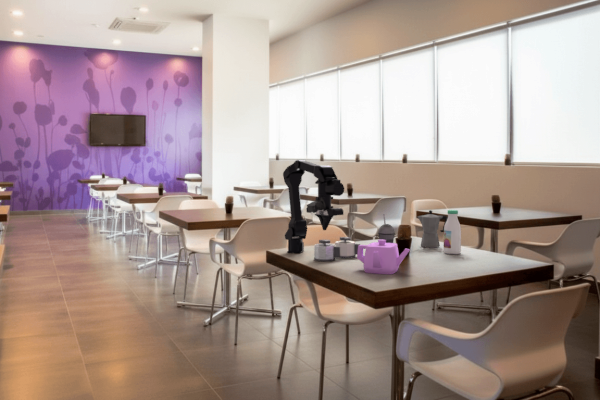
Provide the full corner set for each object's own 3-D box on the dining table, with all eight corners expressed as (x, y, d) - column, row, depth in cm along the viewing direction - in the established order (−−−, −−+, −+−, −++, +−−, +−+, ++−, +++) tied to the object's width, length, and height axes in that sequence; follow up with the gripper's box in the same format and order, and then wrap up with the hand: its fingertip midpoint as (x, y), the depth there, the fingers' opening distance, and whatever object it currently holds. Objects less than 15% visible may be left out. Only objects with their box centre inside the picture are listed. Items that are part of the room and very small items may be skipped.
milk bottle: (459, 251, 268) (459, 209, 267) (462, 254, 261) (462, 211, 259) (442, 251, 269) (442, 209, 267) (444, 254, 261) (445, 210, 260)
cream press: (332, 257, 255) (332, 243, 254) (337, 254, 264) (337, 240, 263) (358, 258, 252) (358, 244, 251) (361, 255, 261) (362, 241, 260)
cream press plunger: (338, 251, 256) (338, 238, 256) (340, 249, 261) (340, 236, 260) (349, 252, 255) (349, 238, 254) (351, 250, 259) (351, 237, 259)
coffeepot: (415, 247, 282) (415, 210, 281) (418, 244, 291) (418, 209, 290) (447, 248, 277) (448, 211, 275) (449, 245, 286) (449, 210, 284)
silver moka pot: (311, 260, 247) (311, 246, 247) (317, 257, 256) (317, 242, 256) (337, 262, 244) (337, 247, 244) (342, 258, 253) (342, 243, 252)
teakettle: (387, 265, 238) (388, 235, 237) (412, 272, 223) (412, 241, 222) (352, 268, 231) (352, 238, 230) (374, 276, 216) (374, 244, 215)
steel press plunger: (317, 254, 249) (317, 240, 248) (320, 252, 253) (320, 239, 253) (328, 255, 247) (328, 241, 247) (331, 253, 252) (331, 239, 251)
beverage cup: (394, 261, 245) (394, 215, 244) (377, 260, 247) (377, 214, 245) (395, 258, 253) (395, 213, 251) (378, 257, 254) (378, 213, 252)
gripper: (296, 194, 251) (296, 229, 252) (324, 196, 236) (324, 234, 238) (316, 193, 258) (316, 227, 259) (344, 195, 243) (344, 231, 245)
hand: (324, 230), depth 250 cm, fingers closed
